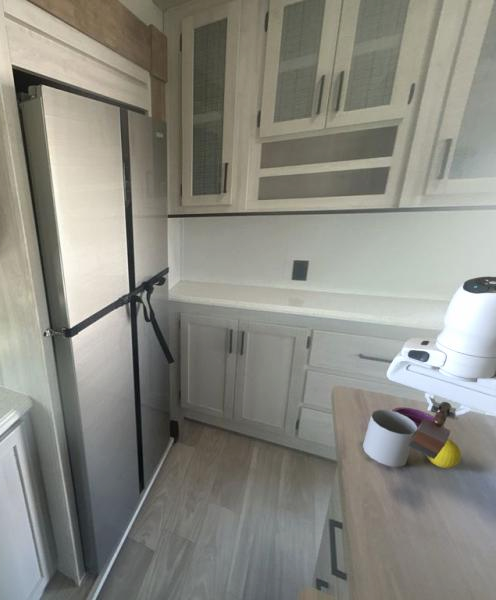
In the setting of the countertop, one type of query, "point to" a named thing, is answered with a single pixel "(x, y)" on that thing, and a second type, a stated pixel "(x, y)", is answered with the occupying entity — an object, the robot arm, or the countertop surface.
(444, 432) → the brush
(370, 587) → the countertop surface
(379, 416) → the cup
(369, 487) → the countertop surface
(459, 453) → the lemon
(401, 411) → the bowl
